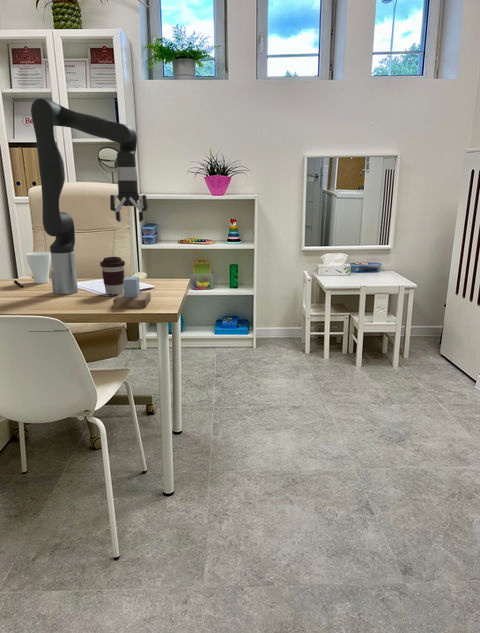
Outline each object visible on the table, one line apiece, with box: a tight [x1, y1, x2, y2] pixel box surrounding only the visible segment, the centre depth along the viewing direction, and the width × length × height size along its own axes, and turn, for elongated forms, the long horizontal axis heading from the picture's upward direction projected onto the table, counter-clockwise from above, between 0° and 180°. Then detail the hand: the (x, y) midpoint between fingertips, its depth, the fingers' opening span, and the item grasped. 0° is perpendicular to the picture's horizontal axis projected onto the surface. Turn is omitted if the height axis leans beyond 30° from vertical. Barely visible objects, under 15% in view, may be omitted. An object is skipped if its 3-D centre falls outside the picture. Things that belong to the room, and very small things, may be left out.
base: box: [112, 291, 152, 309], centre depth 186 cm, size 12×12×3 cm
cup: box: [25, 251, 52, 285], centre depth 221 cm, size 10×10×14 cm
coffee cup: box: [99, 256, 126, 295], centre depth 200 cm, size 10×10×15 cm
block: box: [123, 276, 141, 298], centre depth 184 cm, size 5×5×7 cm
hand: (130, 221), depth 191 cm, fingers open, 8 cm apart
